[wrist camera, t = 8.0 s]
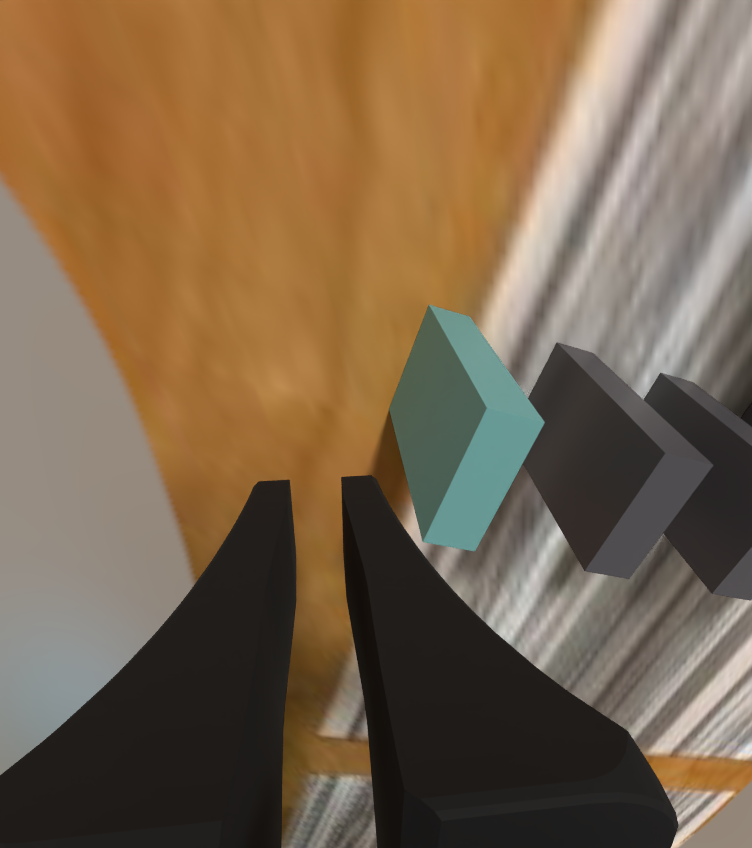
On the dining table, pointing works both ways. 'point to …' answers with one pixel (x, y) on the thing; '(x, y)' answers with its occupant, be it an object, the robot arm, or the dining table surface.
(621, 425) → the tile
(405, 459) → the tile
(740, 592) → the tile
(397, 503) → the dining table surface
